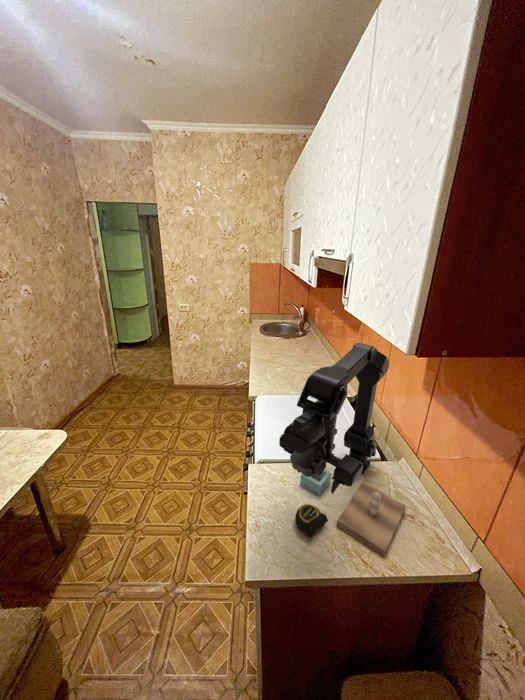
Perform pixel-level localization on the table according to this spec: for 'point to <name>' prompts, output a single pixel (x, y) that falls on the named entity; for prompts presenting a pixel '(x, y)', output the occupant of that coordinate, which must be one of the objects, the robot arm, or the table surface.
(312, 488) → the collar
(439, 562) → the table surface
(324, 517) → the tape measure
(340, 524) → the post board
